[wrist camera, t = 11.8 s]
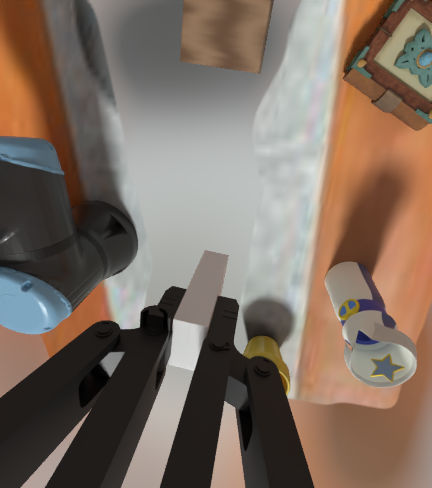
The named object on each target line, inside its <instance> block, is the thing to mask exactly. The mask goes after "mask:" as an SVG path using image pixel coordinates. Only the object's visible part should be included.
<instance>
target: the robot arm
mask: <svg viewBox="0 0 432 488" xmlns="http://www.w3.org/2000/svg"><path fill="white" fill-rule="evenodd" d="M64 175H65V174H64V172H63V171H62V169H61V166H60V162H59V159H58V156H57V152H56V150H55V148H54V146H53V145H52V144H51V143H50V142H48V141H46V140H44V139H41V138H31V137H14V136H0V324H1V325H2V326H4V327H6V328H8V329H11V330H14V331H17V332H20V333H25V334H41V333H45V332H48V331H50V330H52V329H53V328H55V327H56V326H57V325H58V324H59V323H60V322H62V321H63V320H64V319H65V318H67V317H68V316H70V314H71V313H72V312H73V311H74V310H75V309H76V308H77V306H78V305H79V304H80V303H81V302H82V301H83V300H84V299H85V298H86V297H87V296H88V295H89V293H90V292H91V291H92V290H93V289H94V288H95V287H96V286H97V285H98V284H99V283H100V282H101V281H102V280H104V279H106V278H109V277H111V276H113V275H116V274H118V273H120V272H122V271H123V270H125V269H126V268H127V267H128V266H129V265H130V264H131V263H132V261H133V260H134V258H135V256H136V254H137V250H138V239H137V235H136V232H135V229H134V227H133V225H132V224H131V222H130V221H129V219H128V218H127V217H126V216H125V215H124V214H123V213H122V212H121V211H120V210H118V209H117V208H115V207H114V206H112V205H110V204H107V203H104V202H101V201H86V202H82V203H80V204H78V205H76V206H74V207H72V208H71V205H70V200H69V196H68V192H67V188H66V183H65V179H64ZM227 261H228V255H225V254H220V253H215V252H210V251H206V250H205V251H204V254H203V256H202V258H201V260H200V262H199V264H198V266H197V269H196V271H195V273H194V275H193V278H192V279H191V282H190V284H189V286H188V288H187V289H183V288H179V287H174V286H172V287H170V288H169V289H168V290H166V291H165V293H164V295H163V297H162V298H161V300H160V302H159V303H158V305H157V306H156V305H154V306H148V307H146V308H144V309H143V310H142V311H141V318H140V328H136V329H120V327H119V325H118V324H117V323H115V322H113V321H100V322H97V323H95V324H93V325H92V326H90V327H89V328H88V329H87V330H85V331H84V332H83V333H81V334H80V335H79V336H78V337H76V338H75V339H74V340H73V341H71V342H70V343H69V344H68V345H66V346H65V347H64V348H63V349H61V350H60V351H59V352H58V353H56V354H55V355H54V356H52V357H51V358H50V359H49V360H47V361H46V362H45V363H44V364H42V365H41V366H40V367H39V368H37V369H36V370H35V371H34V372H33V373H31V374H30V375H28V376H27V377H26V378H25V379H24V380H22V381H21V382H20V383H18V384H17V385H16V386H15V387H14V388H12V389H11V390H10V391H8V392H7V393H6V394H5V395H3V396H2V397H1V398H0V488H20V487H21V486H22V485H23V484H24V483H25V482H26V481H27V480H28V479H29V477H30V476H31V475H32V474H33V473H34V472H35V471H36V470H37V469H38V467H39V466H40V465H41V464H42V463H43V462H44V461H45V460H46V458H47V457H48V456H49V455H50V454H51V453H52V452H53V451H54V450H55V449H56V447H57V446H58V445H59V444H60V443H61V442H62V441H63V440H64V438H65V437H66V436H67V435H68V434H69V433H70V432H71V431H72V430H73V428H74V427H75V426H76V425H77V424H78V423H79V422H80V421H81V420H82V418H83V417H84V416H85V415H86V414H87V413H88V412H89V411H90V410H91V411H90V412H89V414H88V416H87V417H86V419H85V421H84V423H83V424H82V426H81V428H80V429H79V431H78V433H77V434H76V436H75V438H74V439H73V441H72V443H71V445H70V446H69V448H68V450H67V451H66V453H65V455H64V456H63V458H62V460H61V461H60V463H59V465H58V466H57V468H56V470H55V472H54V473H53V475H52V477H51V478H50V480H49V482H48V483H47V485H46V487H45V488H121V486H122V483H123V480H124V478H125V475H126V473H127V470H128V467H129V465H130V463H131V460H132V457H133V455H134V452H135V450H136V447H137V445H138V442H139V440H140V437H141V435H142V432H143V429H144V427H145V424H146V422H147V419H148V417H149V414H150V412H151V409H152V406H153V404H154V402H155V399H156V396H157V394H158V391H159V389H160V386H161V384H162V381H163V378H164V376H165V372H166V365H167V363H168V360H169V365H172V366H177V367H181V368H185V369H189V370H193V371H194V374H193V377H192V380H191V384H190V387H189V391H188V394H187V397H186V401H185V404H184V408H183V411H182V414H181V418H180V421H179V424H178V428H177V432H176V435H175V438H174V441H173V445H172V448H171V452H170V455H169V458H168V462H167V465H166V468H165V472H164V475H163V479H162V482H161V485H160V488H210V486H211V480H212V474H213V467H214V462H215V455H216V449H217V443H218V437H219V431H220V425H221V418H222V412H223V406H224V401H226V402H227V403H229V404H230V405H232V406H234V407H235V408H236V418H237V425H238V432H239V440H240V449H241V456H242V464H243V472H244V480H245V487H246V488H314V485H313V482H312V478H311V475H310V472H309V469H308V465H307V461H306V458H305V455H304V452H303V448H302V445H301V442H300V438H299V435H298V432H297V429H296V425H295V422H294V419H293V416H292V412H291V409H290V406H289V402H288V399H287V396H286V392H285V389H284V386H283V382H282V379H281V376H280V373H279V369H278V368H277V366H276V364H275V363H274V362H273V361H272V360H270V359H268V358H266V357H263V356H254V357H252V358H250V359H249V358H247V357H245V356H244V355H242V354H240V353H239V351H238V350H237V349H236V348H235V345H234V334H235V329H236V322H237V317H238V310H239V305H238V303H237V300H235V299H231V298H226V297H222V296H221V292H222V288H223V283H224V277H225V272H226V267H227Z"/></svg>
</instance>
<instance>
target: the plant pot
mask: <svg viewBox="0 0 432 488" xmlns="http://www.w3.org/2000/svg"><path fill="white" fill-rule="evenodd" d="M243 355H244V356H245V357H247V358H249V359H250V358H252V357H254V356H263V357H266V358H268V359H270V360H272V361H273V362H274V363H275V364H276V366H277V368H278V369H279V373H280V376H281V379H282V382H283V386H284V389H285V392H286V396H287V395H288V393H289V391H290V376H289V370H288V367H287V365H286V364H285V363H284V361H283V360H282V356H281V353H280V350H279V347H278V344H277V343H276V341H275V340H273V339H272V338H270V337H268V336H256V337H254V338H252V339H251V340H250V341H249V342H248V344H247V346H246V349H245V351H244V353H243Z"/></svg>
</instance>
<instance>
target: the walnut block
mask: <svg viewBox="0 0 432 488" xmlns="http://www.w3.org/2000/svg"><path fill="white" fill-rule="evenodd" d="M273 1H274V0H184V4H183V22H182V40H181V57H180V61H181V62H187V63H194V64H200V65H207V66H213V67H220V68H226V69H233V70H240V71H247V72H253V73H259V74H260V73H261V68H262V62H263V56H264V51H265V45H266V40H267V34H268V29H269V23H270V18H271V12H272V7H273Z"/></svg>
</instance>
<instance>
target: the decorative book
mask: <svg viewBox="0 0 432 488" xmlns="http://www.w3.org/2000/svg"><path fill="white" fill-rule="evenodd" d="M383 18H384V19H383V21H382V22H381V23H380V25H379V26H378V28H377V29H376V31H375V32H374V33H373V35H372V36H371V38H370V39H369V40H368V42H367V43H366V45H365V46H364V48H363V49H362V50H360V51H359V52H358V53H357V55H356V56H355V58H354V59H353V60H352V62H351V63H350V65H349V66H348V68H347V69H346V70H347V72H346V73H345V75H344V77H343V79H344V80H345V81H347V82H348V83H349V84H351V85H352V86H354V87H355V88H356V89H358V90H359V91H361V92H362V93H363V94H365V95H366V96H368V97H369V98H370V99H372V101H371V103H372V104H373V105H375V106H376V107H378V108H379V109H380V110H382V111H383V112H387V113H391V114H393V115H394V116H396V117H397V118H398V119H400V120H401V121H403V122H404V123H405V124H407V125H408V126H410V127H411V128H412V129H414V130H415V131H418V130H421V129H422V128H424V127H425V126H426V125H427V124H431V123H432V2H430V1H429V0H394V2H393V3H392V5H391V6H390V8H389V9H388V10H387V12H386V13H385V15H384V16H383Z"/></svg>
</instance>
